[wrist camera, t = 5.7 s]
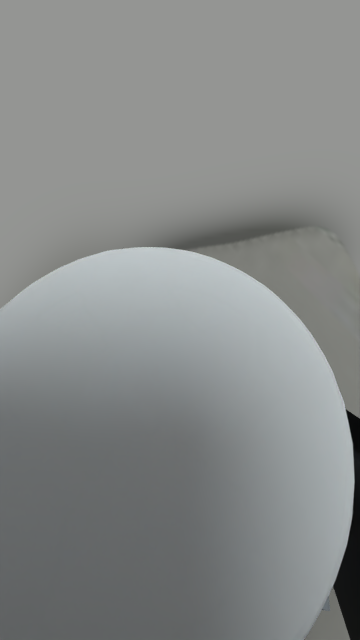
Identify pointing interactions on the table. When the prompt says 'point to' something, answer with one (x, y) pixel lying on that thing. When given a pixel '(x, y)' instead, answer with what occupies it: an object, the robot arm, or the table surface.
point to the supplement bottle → (166, 456)
